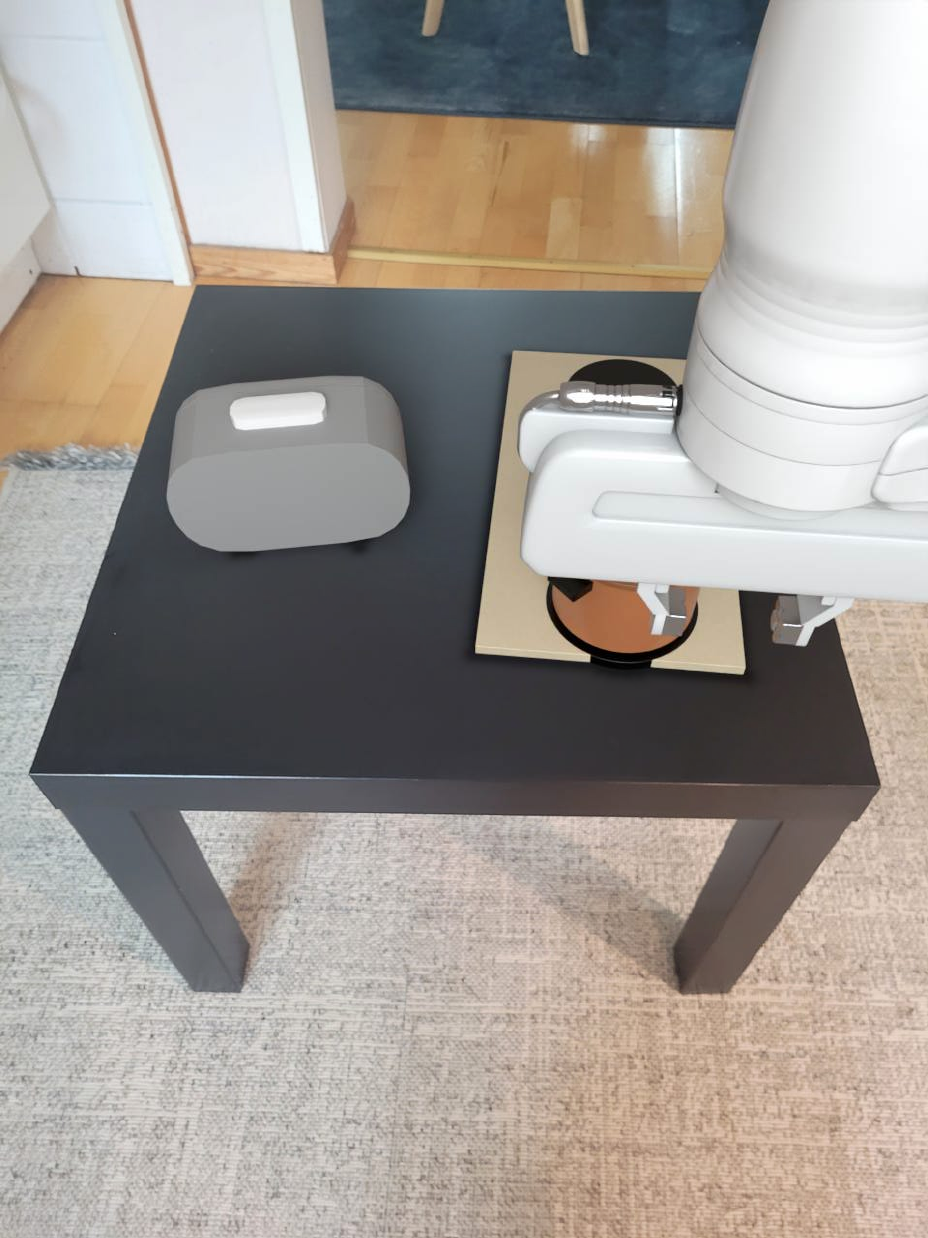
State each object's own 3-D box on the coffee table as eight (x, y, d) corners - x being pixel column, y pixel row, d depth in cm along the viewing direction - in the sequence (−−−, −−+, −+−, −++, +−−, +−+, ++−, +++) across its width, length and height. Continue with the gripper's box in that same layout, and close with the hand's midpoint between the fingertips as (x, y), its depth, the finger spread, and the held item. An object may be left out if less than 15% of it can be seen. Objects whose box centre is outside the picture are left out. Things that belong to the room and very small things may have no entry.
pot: (633, 519, 86) (650, 429, 78) (739, 600, 80) (769, 512, 72) (504, 602, 80) (507, 513, 72) (607, 696, 74) (623, 612, 66)
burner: (677, 369, 102) (678, 361, 101) (681, 442, 94) (682, 434, 94) (566, 363, 103) (567, 355, 102) (562, 434, 95) (562, 426, 95)
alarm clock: (405, 472, 92) (396, 356, 82) (414, 541, 86) (405, 427, 76) (194, 491, 91) (157, 376, 80) (188, 563, 85) (147, 449, 74)
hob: (714, 368, 102) (716, 361, 101) (743, 674, 76) (746, 667, 76) (512, 357, 104) (513, 349, 103) (475, 653, 78) (475, 646, 77)
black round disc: (693, 559, 84) (695, 551, 84) (700, 676, 76) (702, 669, 76) (549, 548, 85) (549, 541, 85) (540, 663, 77) (541, 656, 77)
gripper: (513, 435, 33) (504, 665, 44) (1119, 472, 32) (956, 701, 42) (525, 330, 37) (514, 565, 48) (1064, 359, 35) (927, 595, 46)
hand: (725, 629), depth 45 cm, fingers open, 4 cm apart
